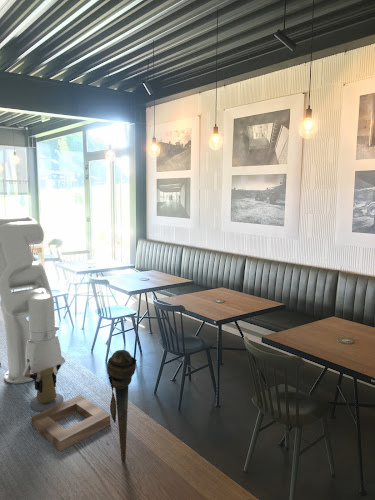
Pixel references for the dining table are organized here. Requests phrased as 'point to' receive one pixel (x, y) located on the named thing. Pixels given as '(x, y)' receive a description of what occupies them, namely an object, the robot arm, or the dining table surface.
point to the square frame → (75, 433)
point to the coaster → (44, 406)
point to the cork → (47, 386)
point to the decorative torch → (120, 391)
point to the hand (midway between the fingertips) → (46, 387)
